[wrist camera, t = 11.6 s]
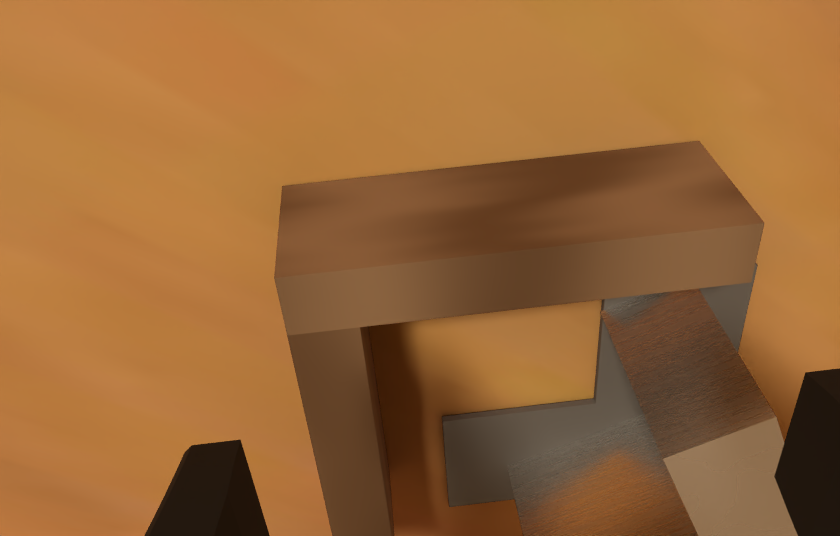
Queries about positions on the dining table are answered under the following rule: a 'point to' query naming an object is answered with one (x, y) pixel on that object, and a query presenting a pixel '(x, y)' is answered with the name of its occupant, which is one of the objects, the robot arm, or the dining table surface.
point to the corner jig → (480, 271)
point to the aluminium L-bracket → (666, 440)
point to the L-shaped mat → (557, 413)
